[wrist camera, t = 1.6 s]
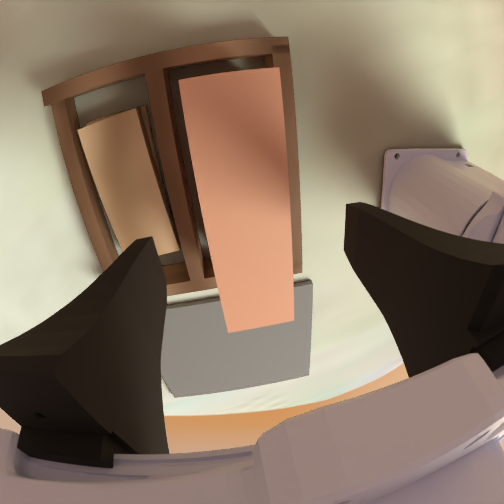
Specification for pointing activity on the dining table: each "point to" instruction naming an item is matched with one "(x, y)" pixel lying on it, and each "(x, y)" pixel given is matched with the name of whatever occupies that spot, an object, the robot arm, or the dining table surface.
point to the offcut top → (129, 180)
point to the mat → (233, 348)
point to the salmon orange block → (243, 191)
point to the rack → (171, 147)
